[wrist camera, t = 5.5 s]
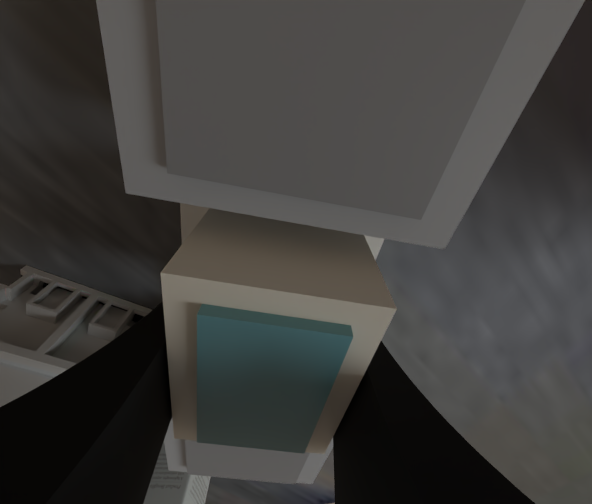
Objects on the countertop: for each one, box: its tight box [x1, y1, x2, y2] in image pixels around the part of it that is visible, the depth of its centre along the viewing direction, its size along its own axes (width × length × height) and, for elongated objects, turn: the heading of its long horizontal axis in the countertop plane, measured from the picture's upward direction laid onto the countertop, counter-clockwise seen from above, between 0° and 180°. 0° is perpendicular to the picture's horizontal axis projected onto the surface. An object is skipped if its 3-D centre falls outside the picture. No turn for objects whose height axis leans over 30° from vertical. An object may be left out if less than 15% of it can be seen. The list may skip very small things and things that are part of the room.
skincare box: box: [143, 442, 211, 504], centre depth 22 cm, size 6×6×7 cm
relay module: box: [161, 208, 397, 454], centre depth 9 cm, size 4×6×6 cm
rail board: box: [96, 0, 585, 484], centre depth 11 cm, size 9×20×7 cm, turn 169°
